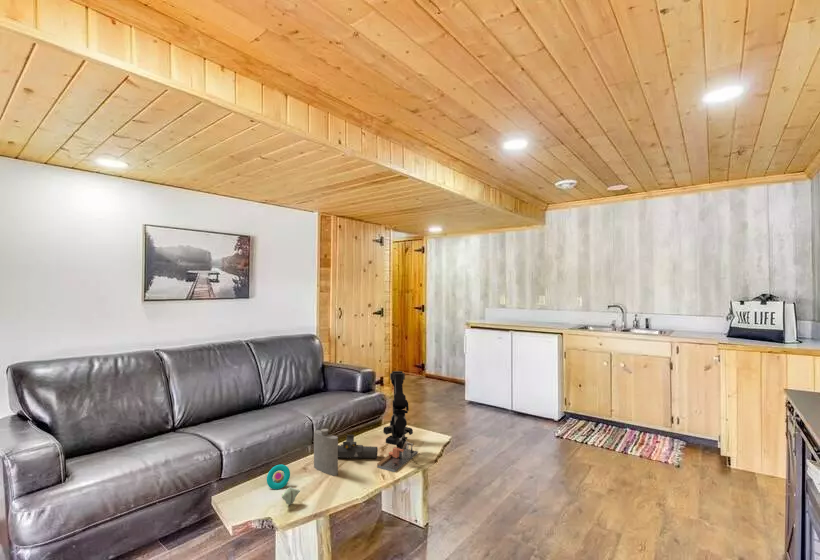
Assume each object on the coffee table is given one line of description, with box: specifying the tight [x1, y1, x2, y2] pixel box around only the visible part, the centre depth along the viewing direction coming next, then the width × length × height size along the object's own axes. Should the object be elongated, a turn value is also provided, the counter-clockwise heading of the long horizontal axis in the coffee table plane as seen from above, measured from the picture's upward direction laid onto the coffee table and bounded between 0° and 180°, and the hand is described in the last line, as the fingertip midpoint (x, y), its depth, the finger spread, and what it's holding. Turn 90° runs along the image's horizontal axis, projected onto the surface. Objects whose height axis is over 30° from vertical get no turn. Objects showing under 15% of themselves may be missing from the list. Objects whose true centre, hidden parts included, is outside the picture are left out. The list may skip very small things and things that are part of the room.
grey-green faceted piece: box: [281, 486, 301, 506], centre depth 168 cm, size 8×4×7 cm, turn 130°
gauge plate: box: [376, 440, 419, 473], centre depth 209 cm, size 24×10×6 cm, turn 151°
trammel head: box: [388, 446, 404, 458], centre depth 210 cm, size 2×8×4 cm, turn 61°
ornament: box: [266, 463, 291, 490], centre depth 184 cm, size 11×4×10 cm
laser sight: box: [338, 434, 378, 460], centre depth 213 cm, size 10×22×10 cm, turn 87°
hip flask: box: [313, 428, 339, 477], centre depth 198 cm, size 16×4×20 cm, turn 52°
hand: (399, 451), depth 213 cm, fingers closed
